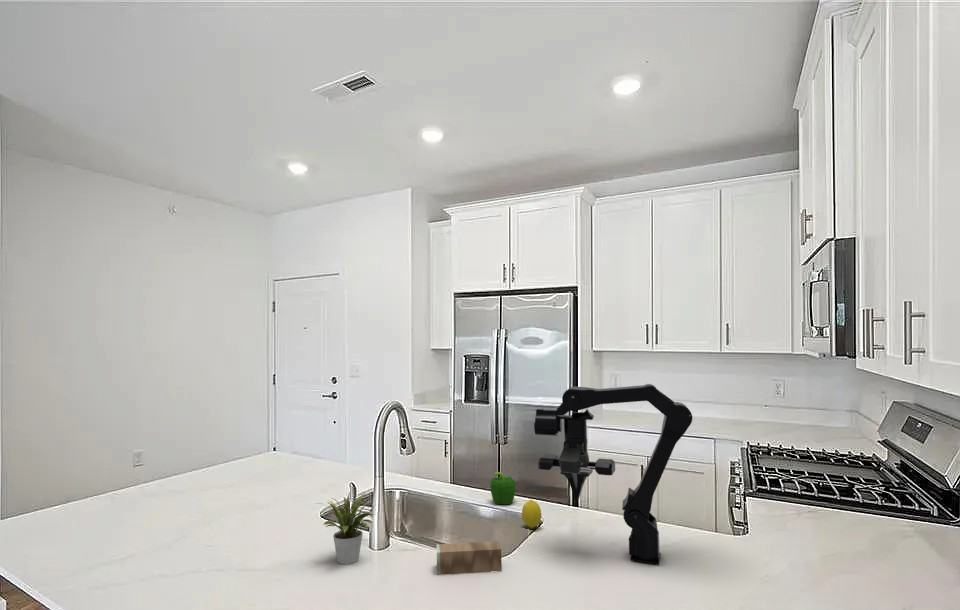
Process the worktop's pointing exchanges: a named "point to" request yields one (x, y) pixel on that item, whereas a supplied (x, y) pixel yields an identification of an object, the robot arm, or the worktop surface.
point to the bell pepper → (503, 489)
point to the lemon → (531, 514)
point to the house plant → (348, 530)
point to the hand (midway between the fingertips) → (577, 498)
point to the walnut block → (468, 557)
